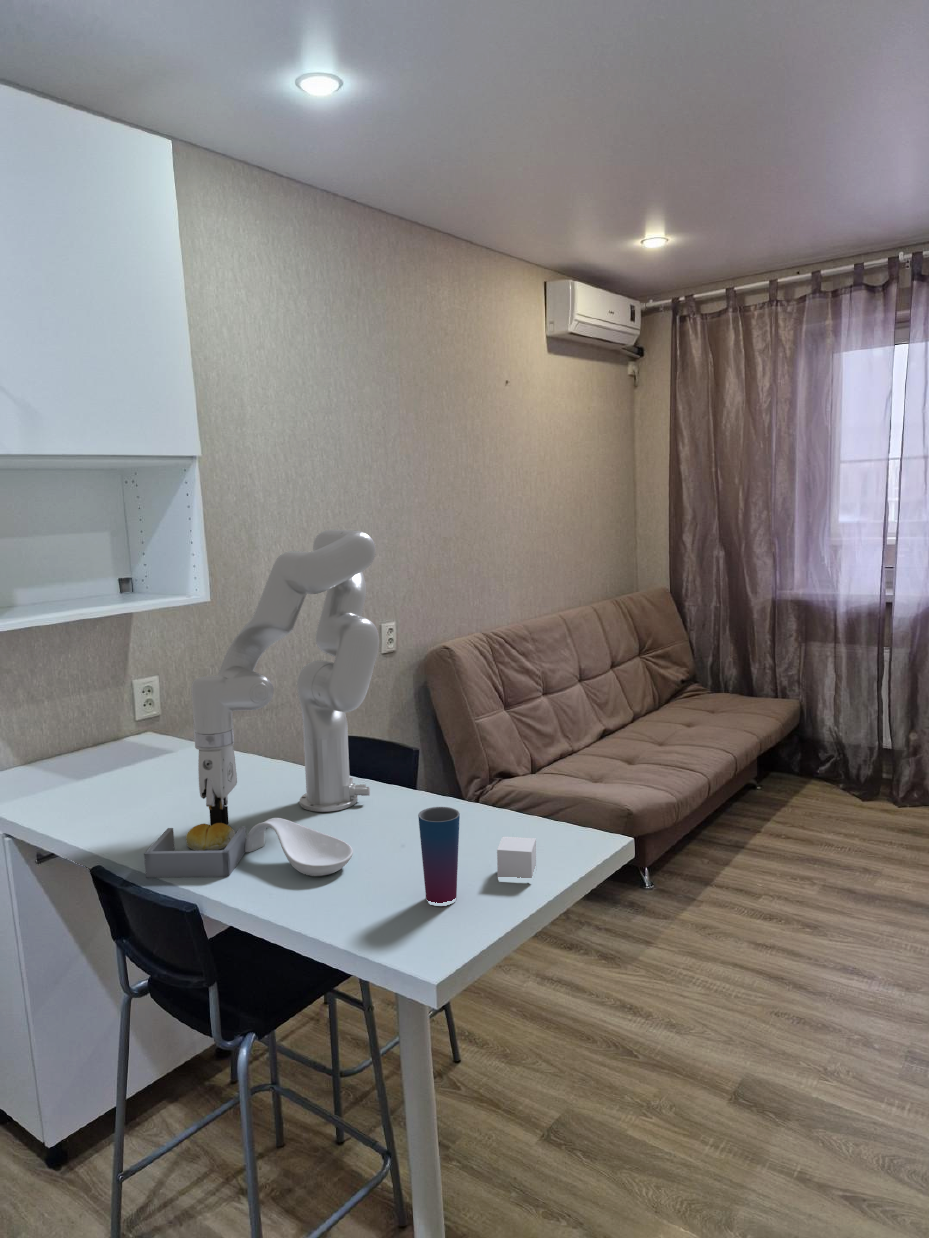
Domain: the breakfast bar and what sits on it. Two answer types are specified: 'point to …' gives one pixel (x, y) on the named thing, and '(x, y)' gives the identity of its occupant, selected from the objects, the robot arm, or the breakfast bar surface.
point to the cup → (439, 852)
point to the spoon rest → (303, 846)
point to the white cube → (516, 857)
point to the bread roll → (209, 837)
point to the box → (193, 858)
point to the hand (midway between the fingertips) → (219, 826)
